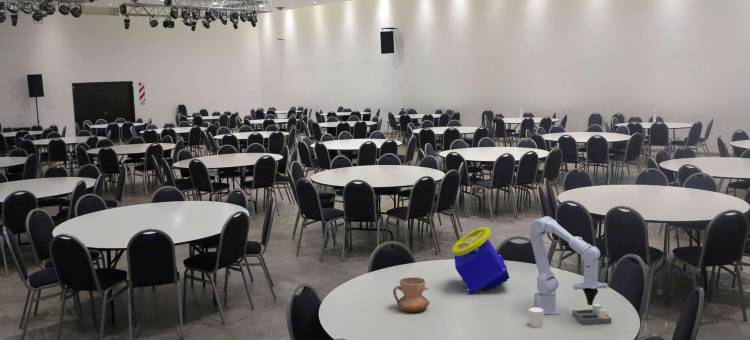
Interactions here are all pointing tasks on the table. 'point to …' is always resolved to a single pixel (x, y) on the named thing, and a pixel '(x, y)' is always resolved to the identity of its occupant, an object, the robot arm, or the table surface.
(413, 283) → the ceramic jug
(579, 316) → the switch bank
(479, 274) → the blue valve with handwheel
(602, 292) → the table surface
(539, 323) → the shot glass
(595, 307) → the white block
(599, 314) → the white rectangular block
